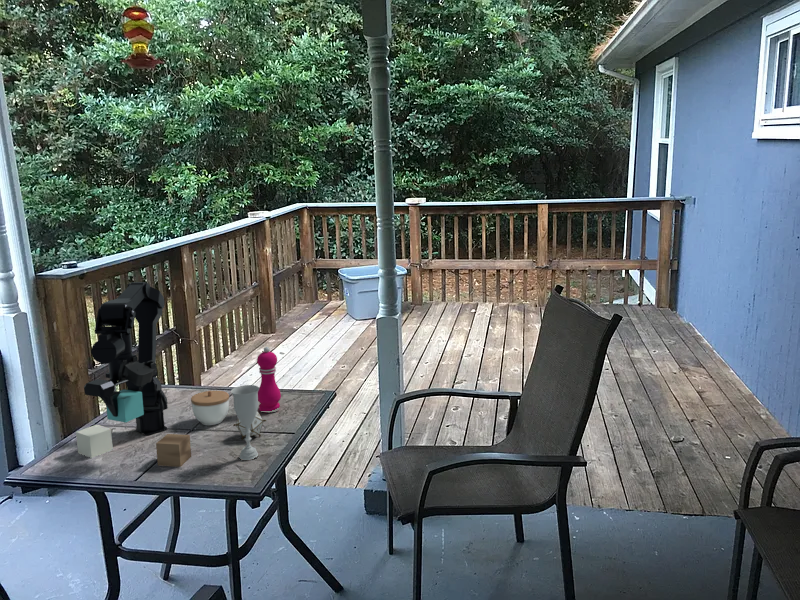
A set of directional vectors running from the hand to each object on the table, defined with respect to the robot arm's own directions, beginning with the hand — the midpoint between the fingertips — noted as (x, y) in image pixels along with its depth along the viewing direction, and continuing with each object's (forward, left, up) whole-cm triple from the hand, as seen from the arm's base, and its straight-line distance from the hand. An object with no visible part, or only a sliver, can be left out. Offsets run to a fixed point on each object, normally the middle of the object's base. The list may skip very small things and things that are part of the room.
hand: (125, 412), depth 166 cm
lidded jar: (-28, -7, -13) cm, 32 cm away
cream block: (+4, -11, -13) cm, 17 cm away
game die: (-29, +11, -13) cm, 33 cm away
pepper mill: (-45, -2, -13) cm, 47 cm away
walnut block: (-7, +10, -13) cm, 18 cm away
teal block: (0, 0, -1) cm, 1 cm away
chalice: (-21, +22, -13) cm, 33 cm away
